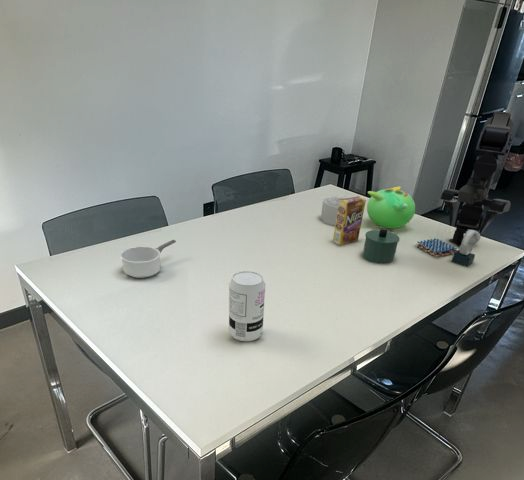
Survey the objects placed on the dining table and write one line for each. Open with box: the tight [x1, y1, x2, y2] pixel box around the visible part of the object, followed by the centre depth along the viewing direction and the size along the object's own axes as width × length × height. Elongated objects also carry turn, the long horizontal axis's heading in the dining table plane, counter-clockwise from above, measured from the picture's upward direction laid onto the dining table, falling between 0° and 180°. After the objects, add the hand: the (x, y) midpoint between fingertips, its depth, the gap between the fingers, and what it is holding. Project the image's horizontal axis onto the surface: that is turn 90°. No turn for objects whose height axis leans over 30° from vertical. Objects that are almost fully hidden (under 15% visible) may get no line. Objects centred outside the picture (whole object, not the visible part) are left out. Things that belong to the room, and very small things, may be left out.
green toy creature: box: [366, 186, 416, 229], centre depth 175 cm, size 18×17×15 cm
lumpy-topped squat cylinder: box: [320, 195, 347, 227], centre depth 179 cm, size 10×13×9 cm
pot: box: [362, 237, 399, 265], centre depth 152 cm, size 10×10×7 cm
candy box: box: [332, 195, 367, 246], centre depth 159 cm, size 9×4×15 cm, turn 123°
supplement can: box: [228, 270, 266, 342], centre depth 108 cm, size 8×8×15 cm
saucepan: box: [119, 239, 177, 279], centre depth 138 cm, size 12×20×6 cm, turn 145°
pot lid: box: [364, 226, 401, 244], centre depth 149 cm, size 11×11×4 cm
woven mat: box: [416, 237, 458, 258], centre depth 161 cm, size 10×11×2 cm
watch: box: [451, 230, 482, 268], centre depth 151 cm, size 6×8×11 cm
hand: (465, 229), depth 139 cm, fingers open, 9 cm apart
